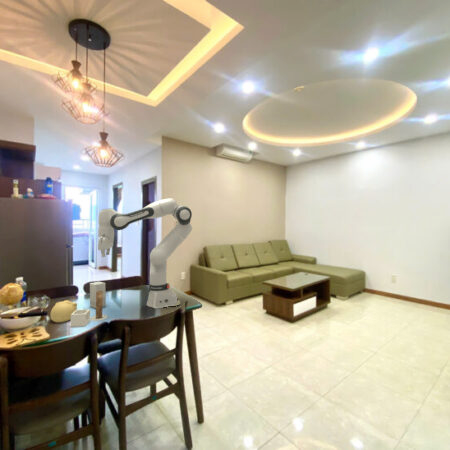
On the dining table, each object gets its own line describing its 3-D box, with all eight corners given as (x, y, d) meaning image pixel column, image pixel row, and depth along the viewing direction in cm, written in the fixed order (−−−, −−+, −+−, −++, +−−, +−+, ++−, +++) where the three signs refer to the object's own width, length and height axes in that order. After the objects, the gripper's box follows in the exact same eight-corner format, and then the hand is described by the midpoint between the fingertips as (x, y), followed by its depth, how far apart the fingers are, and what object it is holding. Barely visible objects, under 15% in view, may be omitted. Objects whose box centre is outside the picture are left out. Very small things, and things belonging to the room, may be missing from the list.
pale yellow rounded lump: (79, 316, 141) (80, 297, 141) (67, 324, 129) (67, 304, 129) (59, 316, 141) (60, 297, 141) (45, 324, 129) (45, 304, 129)
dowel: (103, 316, 141) (103, 290, 140) (101, 318, 137) (101, 292, 137) (96, 316, 140) (97, 290, 140) (94, 318, 137) (95, 292, 136)
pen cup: (89, 321, 134) (90, 309, 134) (85, 327, 127) (85, 314, 127) (76, 322, 132) (76, 309, 132) (70, 328, 126) (70, 314, 126)
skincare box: (105, 306, 158) (106, 282, 158) (95, 309, 153) (96, 284, 152) (99, 303, 163) (99, 280, 163) (89, 306, 157) (89, 282, 157)
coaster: (109, 315, 144) (109, 314, 144) (105, 321, 135) (105, 320, 135) (93, 316, 142) (93, 315, 142) (87, 322, 133) (87, 321, 133)
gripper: (106, 235, 143) (106, 258, 143) (115, 233, 163) (115, 253, 163) (95, 234, 142) (94, 258, 142) (105, 233, 162) (104, 253, 162)
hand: (105, 255), depth 153 cm, fingers open, 8 cm apart
